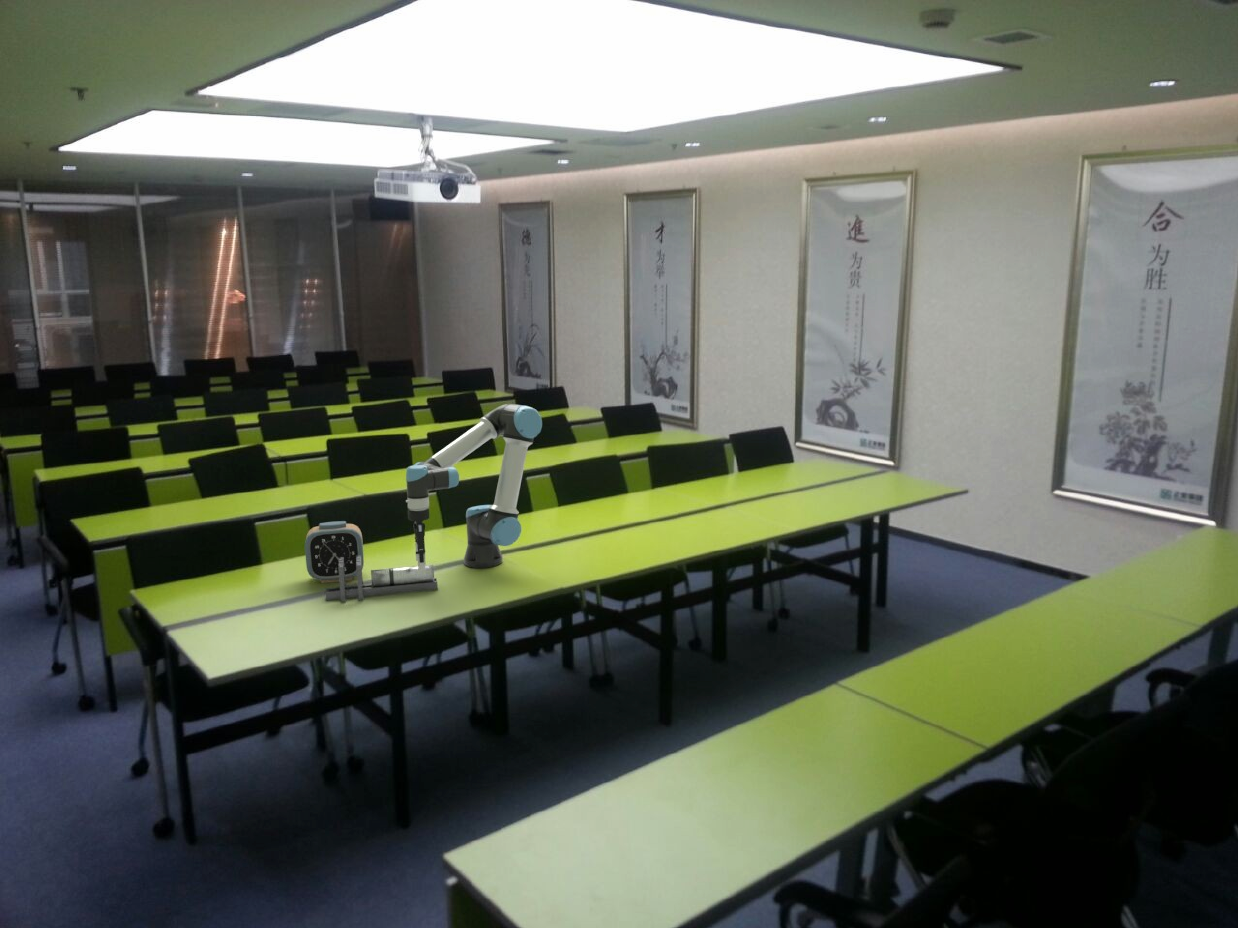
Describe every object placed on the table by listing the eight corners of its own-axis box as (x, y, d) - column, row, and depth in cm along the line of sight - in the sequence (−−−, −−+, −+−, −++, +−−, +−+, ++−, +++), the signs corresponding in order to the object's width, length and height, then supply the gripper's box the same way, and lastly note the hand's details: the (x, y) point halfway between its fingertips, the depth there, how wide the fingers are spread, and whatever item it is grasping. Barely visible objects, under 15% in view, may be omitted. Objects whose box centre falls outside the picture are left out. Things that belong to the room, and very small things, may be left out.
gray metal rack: (436, 582, 348) (434, 548, 346) (438, 592, 337) (436, 558, 334) (326, 593, 339) (324, 558, 336) (325, 604, 327) (322, 568, 324)
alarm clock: (307, 585, 348) (303, 529, 344) (309, 577, 357) (304, 522, 353) (364, 579, 353) (360, 524, 349) (364, 572, 362) (360, 518, 358)
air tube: (433, 578, 345) (432, 562, 343) (434, 583, 339) (433, 567, 338) (371, 584, 339) (370, 568, 338) (372, 589, 333) (370, 572, 332)
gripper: (406, 501, 346) (408, 557, 350) (409, 517, 323) (411, 576, 326) (426, 500, 348) (429, 555, 352) (431, 515, 324) (433, 574, 328)
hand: (420, 565), depth 339 cm, fingers open, 13 cm apart
